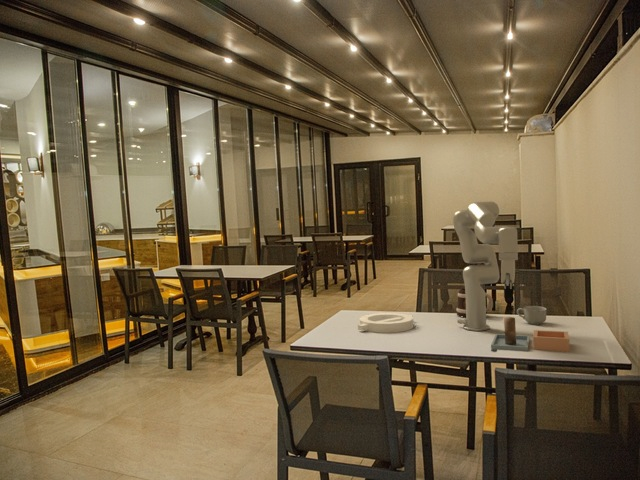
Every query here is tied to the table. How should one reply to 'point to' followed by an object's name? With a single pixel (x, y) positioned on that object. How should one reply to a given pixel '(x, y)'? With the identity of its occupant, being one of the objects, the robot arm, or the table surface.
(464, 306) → the mug
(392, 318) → the ring with crossbar
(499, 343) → the tray
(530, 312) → the teacup
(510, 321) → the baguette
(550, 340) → the open box
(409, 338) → the table surface
